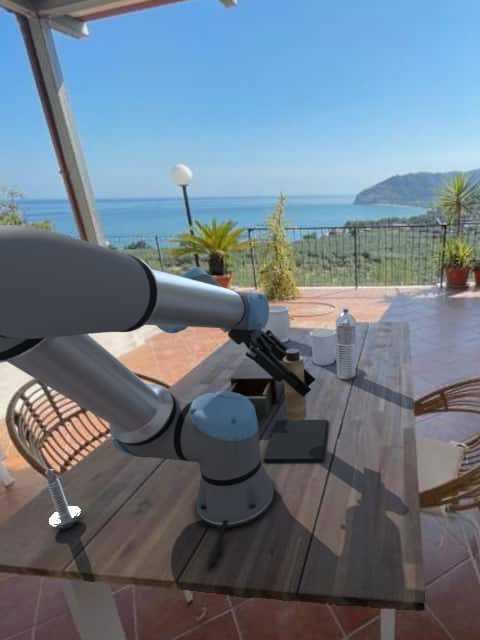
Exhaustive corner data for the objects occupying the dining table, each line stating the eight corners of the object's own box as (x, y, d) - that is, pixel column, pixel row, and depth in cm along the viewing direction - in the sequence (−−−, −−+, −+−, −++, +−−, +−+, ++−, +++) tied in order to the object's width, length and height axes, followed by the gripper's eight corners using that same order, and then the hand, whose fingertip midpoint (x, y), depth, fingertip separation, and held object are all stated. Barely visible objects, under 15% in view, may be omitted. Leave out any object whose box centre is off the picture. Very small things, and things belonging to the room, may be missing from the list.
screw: (88, 514, 78) (73, 533, 73) (62, 515, 77) (46, 535, 73) (70, 460, 73) (53, 477, 69) (43, 461, 73) (24, 478, 68)
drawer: (264, 427, 106) (262, 405, 104) (218, 427, 106) (215, 406, 103) (277, 395, 124) (275, 376, 121) (237, 396, 123) (235, 376, 121)
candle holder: (341, 360, 154) (340, 331, 150) (326, 368, 146) (325, 338, 142) (321, 355, 159) (320, 327, 154) (306, 362, 151) (304, 333, 147)
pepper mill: (305, 421, 97) (301, 354, 91) (285, 421, 97) (280, 354, 91) (307, 411, 102) (304, 347, 95) (288, 411, 102) (283, 347, 95)
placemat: (322, 461, 94) (322, 458, 94) (264, 461, 94) (263, 459, 93) (326, 421, 111) (326, 419, 110) (277, 422, 110) (277, 419, 110)
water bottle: (353, 381, 136) (353, 312, 127) (334, 379, 137) (333, 310, 128) (357, 373, 142) (357, 306, 133) (339, 371, 143) (338, 305, 134)
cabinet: (277, 403, 121) (275, 378, 118) (233, 403, 121) (230, 378, 117) (285, 381, 135) (283, 358, 132) (246, 381, 135) (243, 359, 132)
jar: (263, 343, 172) (260, 310, 166) (272, 336, 181) (269, 304, 176) (286, 345, 170) (284, 311, 164) (294, 337, 179) (292, 305, 174)
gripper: (241, 322, 101) (306, 381, 106) (211, 346, 84) (291, 415, 89) (259, 302, 99) (325, 364, 104) (232, 323, 82) (313, 395, 87)
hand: (309, 387), depth 96 cm, fingers closed on pepper mill, 5 cm apart
